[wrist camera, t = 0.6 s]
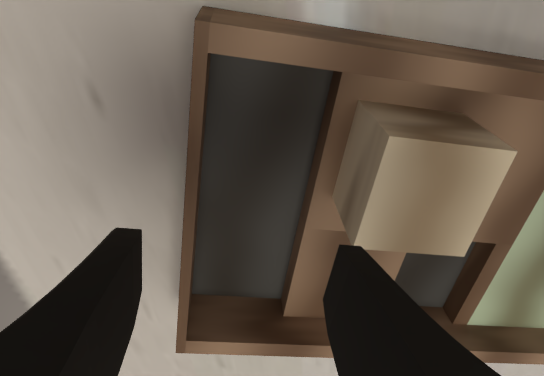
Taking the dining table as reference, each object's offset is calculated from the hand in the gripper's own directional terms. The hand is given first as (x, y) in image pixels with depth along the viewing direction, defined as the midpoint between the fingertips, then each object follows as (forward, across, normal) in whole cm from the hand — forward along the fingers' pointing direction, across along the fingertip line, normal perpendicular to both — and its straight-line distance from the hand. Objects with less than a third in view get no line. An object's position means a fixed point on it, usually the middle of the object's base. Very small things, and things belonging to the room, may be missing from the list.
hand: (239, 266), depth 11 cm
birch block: (+8, -8, 0) cm, 11 cm away
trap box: (+10, -11, +4) cm, 16 cm away
